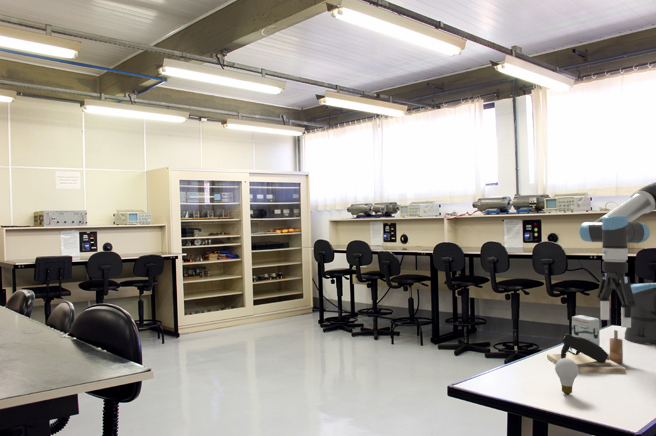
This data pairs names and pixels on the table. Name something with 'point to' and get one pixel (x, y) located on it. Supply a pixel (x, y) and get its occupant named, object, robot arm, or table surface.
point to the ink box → (586, 328)
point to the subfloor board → (589, 364)
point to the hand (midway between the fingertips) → (615, 323)
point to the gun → (583, 348)
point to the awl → (616, 349)
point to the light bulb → (566, 374)
